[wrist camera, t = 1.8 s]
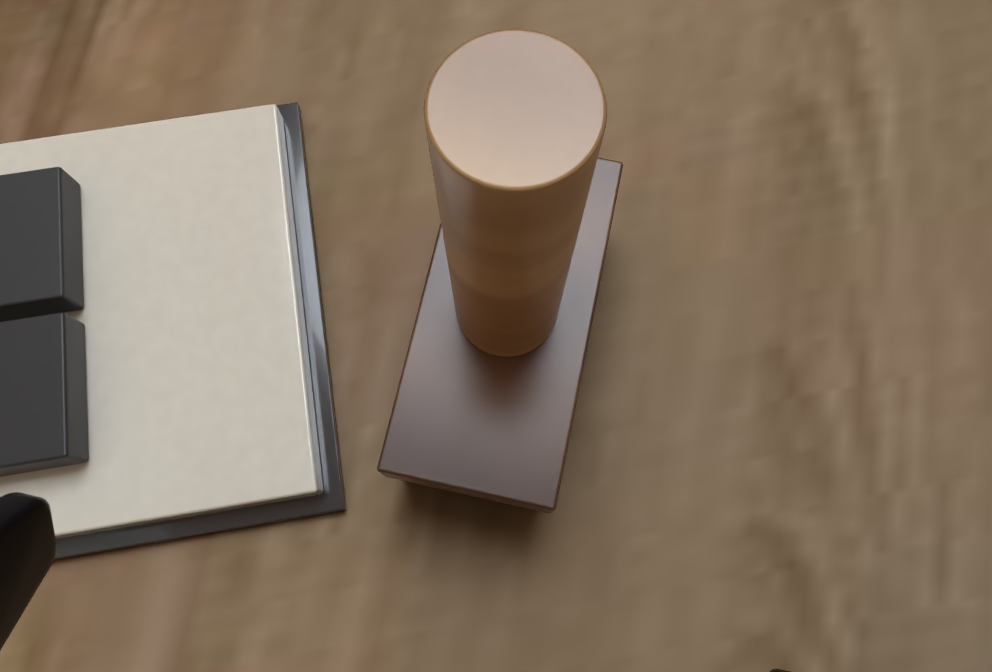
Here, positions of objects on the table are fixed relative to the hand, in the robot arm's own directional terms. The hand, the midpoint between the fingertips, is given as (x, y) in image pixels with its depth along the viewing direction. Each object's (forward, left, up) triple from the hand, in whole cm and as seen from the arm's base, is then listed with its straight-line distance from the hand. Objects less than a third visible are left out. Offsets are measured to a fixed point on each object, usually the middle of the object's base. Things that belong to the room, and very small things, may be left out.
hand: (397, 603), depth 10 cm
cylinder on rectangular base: (+6, +4, -13) cm, 14 cm away
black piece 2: (-5, +12, -12) cm, 17 cm away
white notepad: (-3, +13, -13) cm, 19 cm away
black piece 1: (-3, +15, -12) cm, 19 cm away
